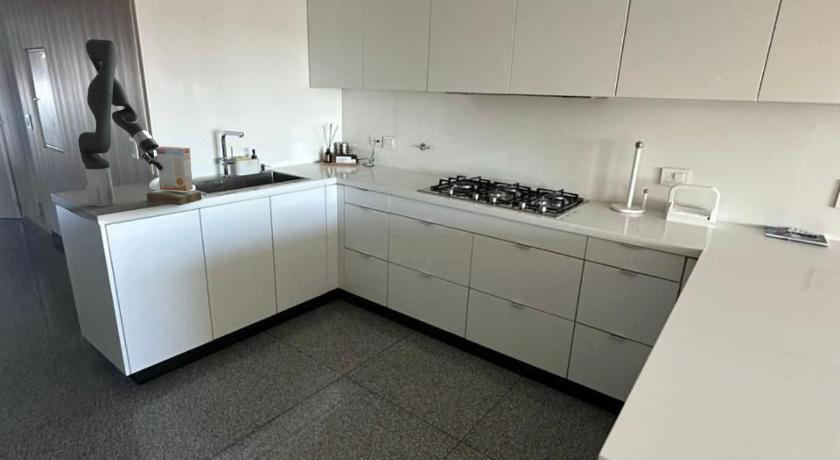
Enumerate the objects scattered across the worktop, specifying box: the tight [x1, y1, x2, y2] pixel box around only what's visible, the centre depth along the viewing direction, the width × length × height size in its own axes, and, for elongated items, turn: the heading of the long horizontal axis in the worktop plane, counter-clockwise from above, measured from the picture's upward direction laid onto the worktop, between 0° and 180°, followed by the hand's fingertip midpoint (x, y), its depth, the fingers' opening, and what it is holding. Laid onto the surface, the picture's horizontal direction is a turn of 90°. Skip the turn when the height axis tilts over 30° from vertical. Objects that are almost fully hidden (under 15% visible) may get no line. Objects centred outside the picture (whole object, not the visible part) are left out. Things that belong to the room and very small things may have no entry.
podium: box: [146, 189, 202, 206], centre depth 227 cm, size 14×20×4 cm
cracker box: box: [156, 146, 193, 191], centre depth 224 cm, size 14×6×21 cm, turn 83°
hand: (167, 168), depth 224 cm, fingers closed on cracker box, 6 cm apart
